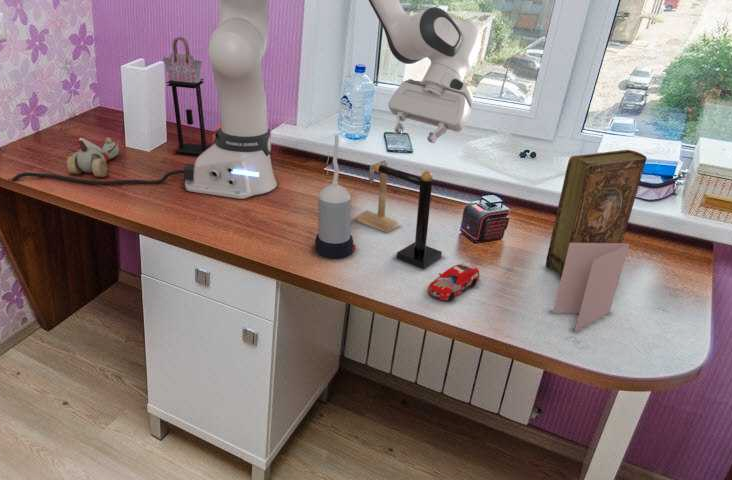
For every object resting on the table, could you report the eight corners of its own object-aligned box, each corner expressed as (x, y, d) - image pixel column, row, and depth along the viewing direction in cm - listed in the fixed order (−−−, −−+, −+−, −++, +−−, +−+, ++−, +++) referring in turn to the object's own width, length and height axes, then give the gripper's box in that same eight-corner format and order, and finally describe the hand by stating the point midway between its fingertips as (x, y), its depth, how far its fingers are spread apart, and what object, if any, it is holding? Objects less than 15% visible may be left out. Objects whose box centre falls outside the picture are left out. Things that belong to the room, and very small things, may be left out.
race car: (444, 306, 123) (446, 288, 121) (422, 295, 126) (423, 277, 124) (483, 282, 132) (485, 265, 130) (461, 272, 135) (464, 255, 132)
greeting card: (607, 310, 126) (627, 241, 118) (622, 331, 120) (644, 260, 112) (551, 310, 125) (568, 240, 116) (563, 331, 119) (582, 260, 110)
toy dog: (123, 154, 176) (117, 121, 171) (122, 179, 162) (116, 144, 157) (74, 155, 172) (66, 122, 167) (68, 181, 158) (60, 146, 153)
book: (602, 257, 146) (631, 149, 132) (618, 268, 142) (651, 158, 128) (544, 268, 139) (568, 156, 125) (560, 281, 135) (587, 166, 121)
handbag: (215, 148, 185) (205, 36, 168) (206, 157, 179) (194, 41, 162) (180, 144, 186) (166, 32, 169) (169, 153, 179) (153, 37, 163)
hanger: (368, 215, 155) (370, 154, 147) (398, 226, 151) (402, 164, 143) (352, 222, 151) (354, 160, 142) (383, 234, 147) (387, 171, 138)
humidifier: (360, 254, 138) (364, 139, 124) (324, 261, 134) (325, 144, 120) (343, 238, 143) (345, 127, 130) (309, 245, 140) (307, 130, 126)
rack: (380, 234, 147) (385, 151, 136) (441, 257, 139) (451, 171, 129) (361, 244, 142) (364, 159, 131) (423, 269, 134) (432, 180, 124)
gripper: (399, 69, 154) (373, 119, 152) (473, 86, 145) (445, 139, 143) (409, 86, 159) (383, 133, 158) (480, 103, 150) (454, 154, 149)
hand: (413, 136), depth 150 cm, fingers open, 8 cm apart
